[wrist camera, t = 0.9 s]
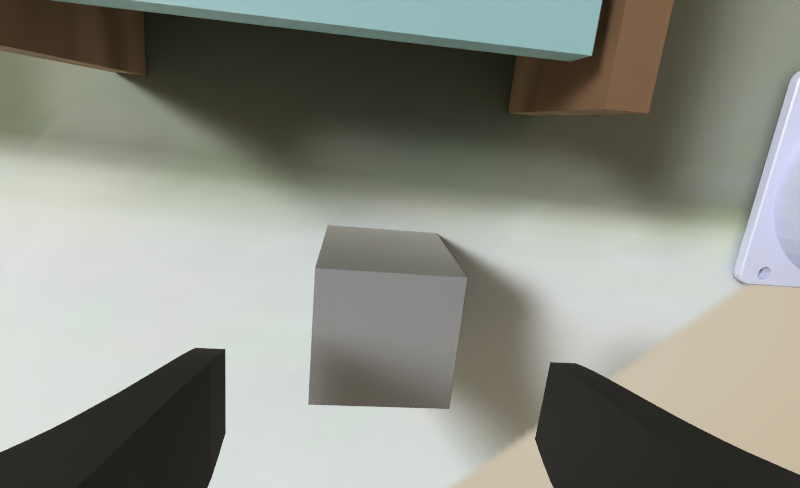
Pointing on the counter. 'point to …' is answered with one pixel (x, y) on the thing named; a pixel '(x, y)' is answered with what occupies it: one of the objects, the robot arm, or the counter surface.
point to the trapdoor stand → (533, 77)
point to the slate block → (385, 319)
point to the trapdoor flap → (412, 21)
